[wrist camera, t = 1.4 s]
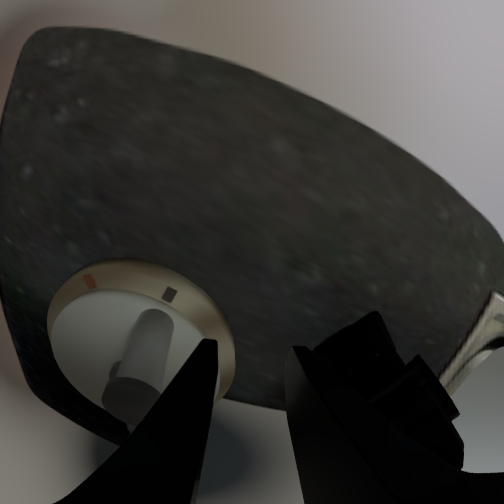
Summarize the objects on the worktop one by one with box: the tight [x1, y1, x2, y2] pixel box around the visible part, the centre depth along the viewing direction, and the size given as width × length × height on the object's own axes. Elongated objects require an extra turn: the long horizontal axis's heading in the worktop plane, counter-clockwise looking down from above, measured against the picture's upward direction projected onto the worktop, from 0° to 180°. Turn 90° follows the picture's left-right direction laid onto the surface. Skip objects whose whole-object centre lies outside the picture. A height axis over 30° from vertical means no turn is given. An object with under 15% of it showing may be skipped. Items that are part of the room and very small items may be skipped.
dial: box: [51, 289, 220, 426], centre depth 16 cm, size 14×14×8 cm
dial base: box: [47, 258, 235, 405], centre depth 21 cm, size 16×16×2 cm
